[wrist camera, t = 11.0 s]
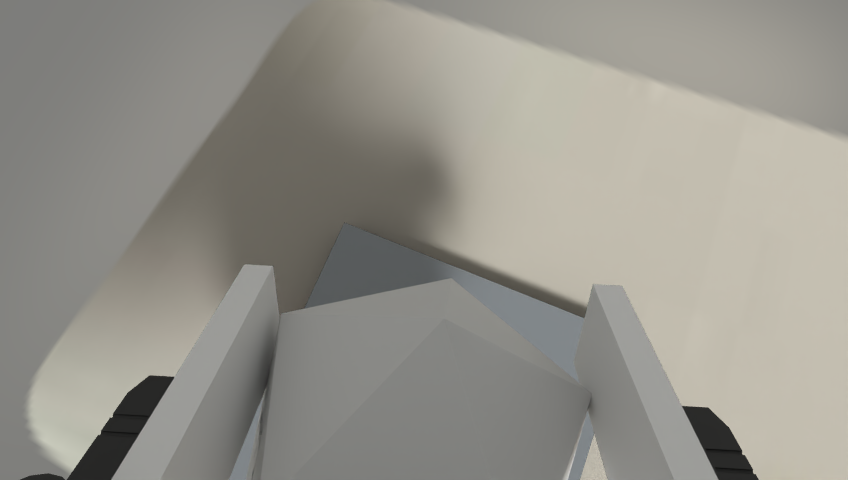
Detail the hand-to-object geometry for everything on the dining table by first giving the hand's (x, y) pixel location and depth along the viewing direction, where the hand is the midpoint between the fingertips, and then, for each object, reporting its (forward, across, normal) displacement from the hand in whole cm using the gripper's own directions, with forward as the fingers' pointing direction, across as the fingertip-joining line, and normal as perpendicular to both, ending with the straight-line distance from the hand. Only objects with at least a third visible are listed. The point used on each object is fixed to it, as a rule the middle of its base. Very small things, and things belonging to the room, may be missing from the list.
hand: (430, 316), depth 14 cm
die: (+1, 0, +5) cm, 5 cm away
